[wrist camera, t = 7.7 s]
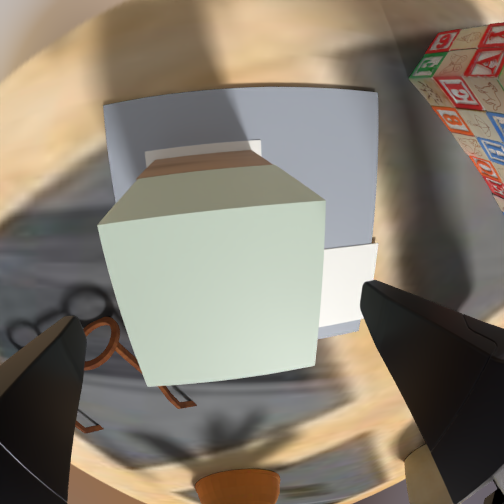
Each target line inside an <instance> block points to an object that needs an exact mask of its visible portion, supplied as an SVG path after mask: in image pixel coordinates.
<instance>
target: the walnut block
mask: <svg viewBox="0 0 504 504" xmlns="http://www.w3.org/2000/svg"><path fill="white" fill-rule="evenodd" d="M261 165H273V164H271V163H270V162H269V161H267V160H266V159H264V158H263V157H261V156H260V155H258V154H257V153H255V152H254V151H252V150H243V151H230V152H219V153H208V154H198V155H189V156H180V157H172V158H165V159H157V160H154V161H153V162H152V163H151V164H150V165H149V166H148V167H147V168H146V169H145V170H144V171H143V172H142V173H141V174H140V175H139V176H138V177H137V178H136V181H137V180H138V179H140V178H147V177H154V176H162V175H169V174H177V173H186V172H194V171H203V170H213V169H224V168H235V167H247V166H261Z"/></svg>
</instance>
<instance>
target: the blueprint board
mask: <svg viewBox="0 0 504 504" xmlns="http://www.w3.org/2000/svg"><path fill="white" fill-rule="evenodd" d="M103 108H104V120H105V130H106V139H107V148H108V155H109V163H110V170H111V177H112V183H113V190H114V196H115V201H116V203H117V202H118V201H119V199H120V198H121V197H122V196H123V195H124V194H125V193H126V192H127V191H128V189H129V188H130V187H131V186H132V185H133V184H134V183H135V182H136V178H137V177H138V176H139V175H140V174H141V173H142V172H143V171H144V170H145V169H146V168H147V167H148V166H149V165H150V164H151V163H152V162H153V161H154V160H157V159H165V158H172V157H180V156H189V155H198V154H208V153H219V152H230V151H243V150H252V151H254V152H255V153H257V154H258V155H260V156H261V157H263V158H264V159H266V160H267V161H269V162H270V163H271V164H273V165H276V166H278V167H279V168H281V169H282V170H284V171H285V172H287V173H288V174H289V175H291V176H292V177H294V178H295V179H297V180H298V181H299V182H301V183H302V184H304V185H305V186H307V187H308V188H309V189H311V190H312V191H314V192H315V193H316V194H318V195H319V196H320V197H322V198H323V199H325V200H326V215H325V241H324V261H323V278H322V292H321V305H320V317H319V329H318V339H322V338H327V337H332V336H337V335H342V334H346V333H351V332H356V331H359V325H360V320H361V319H364V317H363V315H362V312H361V310H360V299H361V292H362V286H363V283H364V282H366V281H371V280H373V279H374V272H375V265H376V258H377V250H378V243H372V234H373V223H374V212H375V199H376V184H377V163H378V93H376V92H367V91H357V90H346V89H332V88H311V87H248V88H228V89H214V90H202V91H192V92H182V93H174V94H166V95H159V96H152V97H146V98H140V99H134V100H129V101H123V102H118V103H113V104H108V105H104V106H103Z"/></svg>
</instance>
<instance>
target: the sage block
mask: <svg viewBox="0 0 504 504" xmlns="http://www.w3.org/2000/svg"><path fill="white" fill-rule="evenodd" d="M325 215H326V200H325V199H323V198H322V197H320V196H319V195H318V194H316V193H315V192H314V191H312V190H311V189H309V188H308V187H307V186H305V185H304V184H302V183H301V182H299V181H298V180H297V179H295V178H294V177H292V176H291V175H289V174H288V173H287V172H285V171H284V170H282V169H281V168H279V167H278V166H276V165H261V166H247V167H235V168H224V169H213V170H203V171H194V172H186V173H177V174H169V175H162V176H154V177H147V178H140V179H138V180H137V181H136V182H135V183H134V184H133V185H132V186H131V187H130V188H129V189H128V191H127V192H126V193H125V194H124V195H123V196H122V197H121V198H120V199H119V201H118V202H117V203H116V204H115V205H114V206H113V207H112V209H111V210H110V211H109V212H108V213H107V214H106V216H105V217H104V218H103V219H102V220H101V221H100V223H99V224H98V225H97V226H98V231H99V235H100V239H101V243H102V248H103V252H104V256H105V260H106V263H107V267H108V271H109V275H110V278H111V282H112V285H113V289H114V292H115V296H116V299H117V302H118V305H119V309H120V312H121V315H122V318H123V321H124V324H125V327H126V330H127V333H128V336H129V339H130V342H131V344H132V347H133V350H134V353H135V355H136V358H137V361H138V363H139V366H140V369H141V371H142V374H143V376H144V379H145V381H146V384H147V386H148V387H150V386H167V385H180V384H192V383H203V382H212V381H221V380H229V379H237V378H244V377H252V376H258V375H265V374H271V373H277V372H283V371H288V370H294V369H299V368H304V367H310V366H314V365H315V358H316V349H317V339H318V329H319V317H320V305H321V292H322V278H323V261H324V241H325Z"/></svg>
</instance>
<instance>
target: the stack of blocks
mask: <svg viewBox="0 0 504 504" xmlns="http://www.w3.org/2000/svg"><path fill="white" fill-rule="evenodd" d="M409 80H410V81H411V83H412V84H413V85H414V86H415V87H416V88H417V89H418V90H419V92H420V93H421V94H422V95H423V96H424V98H425V99H426V100H427V101H428V102H429V104H430V105H431V107H432V108H433V110H434V111H435V112H436V113H437V115H438V116H439V117H440V119H441V120H442V121H443V122H444V124H445V125H446V126H447V128H448V129H449V130H450V131H451V133H452V134H453V136H454V137H455V139H456V140H457V141H458V143H459V144H460V146H461V147H462V148H463V150H464V151H465V153H466V154H467V155H469V157H470V159H471V160H472V161H473V163H474V164H475V166H476V167H477V169H478V171H479V172H480V174H481V175H482V176H483V178H484V179H485V181H486V183H487V185H488V186H489V188H490V190H491V191H492V193H493V196H494V198H495V200H496V202H497V203H498V205H499V207H500V209H501V211H502V212H503V214H504V22H503V23H495V24H490V25H484V26H478V27H471V28H465V29H456V30H451V31H445V32H440V33H438V34H437V36H436V37H435V39H434V40H433V42H432V43H431V45H430V46H429V48H428V49H427V51H426V52H425V55H424V56H423V58H422V59H421V61H420V62H419V64H418V65H417V67H416V68H415V70H414V71H413V72H412V74H411V75H410V77H409Z"/></svg>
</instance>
